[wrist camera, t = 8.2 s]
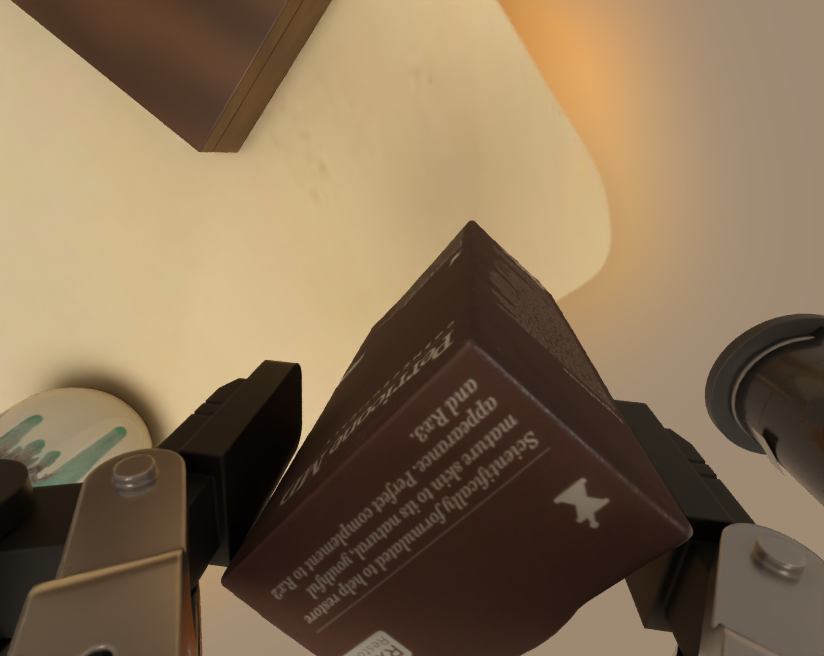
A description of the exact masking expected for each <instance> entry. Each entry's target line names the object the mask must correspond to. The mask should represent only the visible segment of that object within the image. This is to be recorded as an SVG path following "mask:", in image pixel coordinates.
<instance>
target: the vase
mask: <svg viewBox="0 0 824 656" xmlns="http://www.w3.org/2000/svg"><path fill="white" fill-rule="evenodd" d="M147 448H152V442H151V437H150V434H149V432H148V429H147V427H146V425H145V423H144V422H143V420H142V419H141V417H140V416H139V415H138V414H137V413H136V411H135V410H134V409H132V408H131V407H130V406H129V405H128V404H127V403H125V402H124V401H122V400H120V399H119V398H117V397H115V396H113V395H110V394H108V393H105V392H102V391H99V390H94V389H87V388H61V389H54V390H49V391H45V392H42V393H38V394H35V395H32V396H30V397H28V398H27V399H25V400H23V401H21V402H19V403H17V404H15V405H14V406H12V407H10V408H9V409H7V410H6V411H4V412H3V413H1V414H0V459H10V460H15V461H19V462H21V463H23V464H24V465H25V466H26V467H27V470H28V473H29V477H30V481H31V484H32V487H40V486H50V485H61V484H72V483H83V482H84V480H85V478H86V477H87V476H88V474H89V473H90V472H91V471H92V470H93V469H95V468H96V467H97V466H99V465H100V464H102V463H103V462H105V461H107V460H109V459H111V458H113V457H115V456H118V455H120V454H123V453H127V452H130V451H134V450H139V449H147Z"/></svg>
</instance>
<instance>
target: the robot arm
mask: <svg viewBox="0 0 824 656" xmlns="http://www.w3.org/2000/svg"><path fill="white" fill-rule="evenodd" d="M614 401H615V403H616V405H617V406H618V408H619V410H620V411H621V413H622V415H623V417H624V418H625V420H626V422H627V423H628V425H629V426H630V428H631V430H632V431H633V433H634V435H635V437H636V438H637V440H638V441H639V443H640V445H641V446H642V448H643V449H644V450H645V451H646V454H647V456H648V458H649V460H650V461H651V463H652V464H653V466H654V467H655V469H656V471H657V472H658V474H659V475H660V477H661V479H662V480H663V482H664V483H665V485H666V486H667V488H668V490H669V491H670V493H671V494H672V496H673V498H674V499H675V501H676V503H677V504H678V506H679V508H680V510H681V511H682V513H683V514H684V516H685V517H686V519H687V520H688V521H689V523H690V525H691V527H692V530H693V535H692V536H691V537H690V538H689V539H688V540H687V541H686V542H684V543H682V544H681V545H679V546H677V547H675V548H673V549H672V550H670V551H668V552H667V553H665V554H663V555H662V556H660V557H658V558H657V559H655V560H653V561H652V562H650V563H648V564H647V565H645V566H643V567H642V568H640V569H639V570H637V571H635V572H634V573H632V574H631V575H629V576H627V577H626V578H625V580H626V582H627V585H628V587H629V590H630V592H631V595H632V597H633V600H634V602H635V605H636V608H637V611H638V613H639V615H640V618H641V621H642V623H643V626H644V628H647V629H654V630H661V631H668V632H673V635H674V637H675V639H676V641H677V646H676V648H675V651H674V653H673V656H824V561H823V560H822V559H821V558H820V557H819V556H818V555H817V554H815V553H814V552H812V551H811V550H810V549H809V548H807V547H806V546H804V545H803V544H801V543H799V542H798V541H796V540H794V539H792V538H790V537H789V536H787V535H785V534H782V533H780V532H777V531H775V530H772V529H770V528H767V527H763V526H760V525H756V524H755V523H754V521H753V520H752V519H751V518H750V516H749V515H748V514H747V513H746V512H745V510H744V509H743V508H742V507H741V505H740V504H739V503H738V501H736V499H735V498H734V496H733V495H732V494H731V493H730V491H729V490H728V489H727V488H726V486H725V485H724V484H723V483H722V482H721V480H720V479H717V475H716V474H715V473H714V472H713V470H712V469H711V468H710V467H709V465H706V464H705V460H704V459H703V458H702V457H701V455H700V454H699V453H698V452H697V450H696V449H695V448H694V447H693V445H692V444H690V443H689V442H687V441H686V440H685V439H683V438H682V437H681V436H679V435H678V434H676V433H675V432H674V431H672V430H671V429H666V428H664V427H663V426H662V424H661V423H660V422H659V420H658V419H657V418H656V416H655V415H654V414H653V412H652V411H651V410H650V409H649V407H648V406H647V405H646V404H644V403H638V402H629V401H620V400H614ZM729 408H730V412H731V415H732V417H733V419H734V421H735V422H736V424H737V425H738V426H739V427H740V428H741V429H742V430H743V431H744V432H745V433H746V434H747V435H748V436H750V437H751V438H752V439H753V440H754V441H755V442H756V443H757V444H759V445H760V446H761V447H762V448H763V449H764V451H765V452H766V454H767V455H768V458H769V459H770V461H771V463H772V464H773V465H774V466H775V467H776V468H777V469H778V470H779V471H780V472H781V473H782V474H784V473H783V471H782V470H781V468H780V466H779V464H780V465H781V466H782V467H783V468H784V469H786V470H787V471H788V472H789V473H790V474H791V475H792V476H793V477H794V478H795V479H796V480H797V481H798V482H799V483H800V484H801V485H802V486H803V487H804V488H805V489H806V490H807V491H808V492H810V493H811V494H812V495H813V496H814V497H815V498H816V499H817V500H818V501H819V502H820V503H821V504H822V505H823V506H824V326H820V327H818V328H817V329H816V330H815V331H813V332H811V333H810V334H808V335H797V336H792V337H788V338H784V339H781V340H778V341H776V342H774V343H771V344H769V345H768V346H766V347H764V348H762V349H761V350H759V351H758V352H757V353H755V354H754V355H753V356H752V357H750V358H749V359H748V360H747V361H746V362H745V363H744V365H743V366H742V367H741V368H740V370H739V371H738V372H737V374H736V376H735V378H734V380H733V382H732V385H731V388H730V392H729ZM301 430H302V372H301V367H300V365H299V364H298V363H290V362H281V361H272V360H265V361H264V362H262V363H261V365H260V366H259V367H258V368H257V369H256V370H255V371H254V372H253V373H252V374H251V375H250V376H249V377H248V378H247V379H242V378H239V379H236V380H234V381H232V382H230V383H228V384H226V385H224V386H222V387H220V388H218V389H217V390H216V391H215V392H214V393H213V394H212V395H211V396H210V397H209V398H208V399H207V400H206V403H203V404H202V405H201V406H200V407H199V408H198V409H197V410H196V411H195V413H194V414H191V415H190V416H189V417H188V418H187V419H186V420H185V421H184V422H183V423H182V424H181V425H180V426H179V427H178V428H177V429H176V430H175V431H174V432H173V433H172V434H171V435H170V436H169V437H168V438H166V439H165V440H164V441H163V442H162V443H161V444H160V445H159V446H158V447H157V448H147V449H139V450H134V451H130V452H127V453H123V454H120V455H118V456H115V457H113V458H111V459H109V460H107V461H105V462H103V463H102V464H100V465H99V466H97V467H96V468H95V469H93V470H92V471H91V472H90V473H89V474H88V476H87V477H86V478H85V480H84V482H83V483H72V484H61V485H50V486H40V487H32V484H31V481H30V477H29V473H28V470H27V467H26V466H25V465H24V464H23V463H21V462H19V461H15V460H10V459H0V656H202V634H201V607H200V588H199V579H200V578H201V576H202V574H203V573H204V571H205V570H206V568H207V566H208V565H209V564H210V565H217V566H224V567H228V566H229V564H230V562H231V560H232V559H233V557H234V556H235V554H236V553H237V551H238V550H239V548H240V547H241V546H242V544H243V542H244V541H245V539H246V538H247V536H248V534H249V533H250V531H251V529H252V528H253V526H254V524H255V523H256V521H257V520H258V518H259V516H260V515H261V513H262V511H263V510H264V508H265V506H266V504H267V502H268V501H269V499H270V497H271V495H272V493H273V491H274V490H275V488H276V486H277V484H278V483H279V480H280V479H281V477H282V475H283V474H284V472H285V470H286V468H287V466H288V464H289V463H290V461H291V459H292V457H293V455H294V454H295V452H296V450H297V447H298V444H299V441H300V436H301ZM778 463H779V464H778Z"/></svg>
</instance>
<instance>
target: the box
mask: <svg viewBox="0 0 824 656" xmlns="http://www.w3.org/2000/svg"><path fill="white" fill-rule="evenodd" d="M692 535H693V530H692V527H691V525H690V523H689V521H688V520H687V519H686V517H685V516H684V514H683V513H682V511H681V510H680V508H679V506H678V504H677V503H676V501H675V499H674V498H673V496H672V494H671V493H670V491H669V490H668V488H667V486H666V485H665V483H664V482H663V480H662V479H661V477H660V475H659V474H658V472H657V471H656V469H655V467H654V466H653V464H652V463H651V461H650V460H649V458H648V456H647V454H646V451H645V450H644V449H643V448H642V446H641V445H640V443H639V441H638V440H637V438H636V437H635V435H634V433H633V431H632V430H631V428H630V426H629V425H628V423H627V422H626V420H625V418H624V417H623V415H622V413H621V411H620V410H619V408H618V406H617V405H616V403H615V401H614V399H613V398H612V397H611V395H610V393H609V391H608V389H607V387H606V386H605V384H604V383H603V381H602V379H601V378H600V376H599V374H598V372H597V370H596V369H595V367H594V366H593V364H592V363H591V361H590V359H589V357H588V356H587V354H586V352H585V350H584V349H583V347H582V346H581V344H580V342H579V340H578V339H577V337H576V335H575V334H574V332H573V330H572V329H571V327H570V325H569V324H568V322H567V320H566V319H565V318H564V316H563V313H562V312H561V310H560V309H559V307H558V306H557V304H556V303H555V300H554V299H553V297H552V295H551V294H550V293H549V292H548V291H547V290H546V289H545V288H544V287H543V286H542V285H541V283H540V282H539V281H538V280H537V279H536V278H534V277H533V276H532V275H531V274H530V273H529V272H528V271H527V270H526V269H525V268H523V267H522V266H521V265H520V264H519V262H518V261H517V260H515V259H514V258H513V257H512V256H510V255H509V254H508V253H507V252H506V251H505V250H504V249H503V248H502V247H501V246H500V245H499V244H498V243H497V242H496V241H494V240H493V239H492V238H491V237H490V236H489V235H488V234H487V233H486V232H485V231H484V230H483V229H482V228H481V227H480V226H479V225H478V224H477V223H476V222H475V221H473V220H472V221H469V222H468V223H467V224H466V225H465V227H464V228H463V229H462V230H461V231H460V232H459V233H458V235H457V236H456V237H455V238H454V239H453V240H452V241H451V242H450V244H449V245H448V246H447V247H446V248H445V250H444V251H443V252H442V253H441V254H440V255H439V256H438V258H437V259H436V260H435V261H434V262H433V263H432V264H431V265H430V266H429V268H428V269H427V270H426V271H425V272H424V273H423V274H422V275H421V277H420V278H419V279H418V280H417V281H416V282H415V283H414V285H413V286H412V287H411V288H410V289H409V290H408V291H407V292H406V294H405V295H404V296H403V297H402V298H401V299H400V300H399V301H398V302H397V303H396V304H395V305H394V306H393V307H392V308H391V309H390V310H389V311H388V312H387V313H386V314H385V316H384V317H383V318H381V319H380V321H379V322H377V323H376V324H375V325H374V326H373V328H372V329H371V331H370V333H369V334H368V336H367V337H366V339H365V341H364V342H363V344H362V345H361V347H360V349H359V351H358V352H357V354H356V356H355V357H354V359H353V361H352V363H351V365H350V366H349V368H348V369H347V371H346V372H345V374H344V376H343V378H342V380H341V382H340V383H339V385H338V387H337V388H336V389H335V391H334V393H333V395H332V397H331V399H330V400H329V402H328V403H327V405H326V407H325V409H324V411H323V412H322V414H321V416H320V417H319V419H318V420H317V422H316V424H315V425H314V427H313V429H312V430H311V432H310V433H309V435H308V436H307V438H306V440H305V441H304V443H303V445H302V446H301V448H300V449H299V451H298V452H297V454H296V456H295V458H294V460H293V461H292V463H291V465H290V467H289V468H288V470H287V472H286V473H285V475H284V477H283V478H282V480H281V482H280V483H279V485H278V487H277V489H276V490H275V492H274V493H273V495H272V497H271V498H270V500H269V501H268V503H267V505H266V506H265V508H264V510H263V511H262V513H261V515H260V516H259V518H258V520H257V521H256V523H255V524H254V526H253V528H252V529H251V531H250V533H249V534H248V536H247V538H246V539H245V541H244V542H243V544H242V546H241V547H240V548H239V550H238V551H237V553H236V554H235V556H234V557H233V559H232V560H231V562H230V564H229V566H228V567H227V569H226V571H225V572H224V574H223V576H222V579H221V583H222V585H223V586H224V587H225V588H227V589H228V590H230V591H231V592H232V593H234V595H235V596H237V597H238V598H239V599H241V600H242V601H244V602H245V603H246V604H248V605H249V606H250V607H251V608H253V609H254V610H256V611H257V612H258V613H259V614H260V615H261V616H262V617H263V618H265V619H266V620H268V621H269V622H270V623H272V624H273V625H274V626H276V627H277V628H279V629H280V630H281V631H283V632H284V633H285V634H287V635H288V636H290V637H291V638H293V639H294V640H295V641H297V642H298V643H299V644H300V645H302V646H303V647H305V648H306V649H308V650H309V651H311V652H312V653H313V654H315V655H316V656H520V655H522V654H524V653H526V652H528V651H530V650H532V649H534V648H536V647H538V646H539V645H540V644H542V643H544V642H545V641H546V640H548V639H549V638H550V637H551V636H553V635H554V634H556V633H557V632H558V630H560V629H561V628H562V627H563V626H564V625H565V624H566V623H567V622H568V621H569V620H570V619H571V618H572V616H573V615H574V614H575V612H576V611H577V610H578V609H579V608H580V607H581V606H583V605H584V604H585V603H586V602H588V601H589V600H591V599H593V598H594V597H596V596H597V595H599V594H601V593H602V592H604V591H605V590H607V589H608V588H610V587H611V586H613V585H615V584H616V583H618V582H619V581H621V580H623V579H624V578H626V577H627V576H629V575H631V574H632V573H634V572H635V571H637V570H639V569H640V568H642V567H643V566H645V565H647V564H648V563H650V562H652V561H653V560H655V559H657V558H658V557H660V556H662V555H663V554H665V553H667V552H668V551H670V550H672V549H673V548H675V547H677V546H679V545H681V544H682V543H684V542H686V541H687V540H688V539H689V538H690V537H691V536H692Z"/></svg>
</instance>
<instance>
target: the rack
mask: <svg viewBox="0 0 824 656" xmlns="http://www.w3.org/2000/svg"><path fill="white" fill-rule="evenodd" d="M11 1H13V2H14V3H15V4H16V5H18V6H19V7H20V8H21V9H22V10H24V11H25V12H26V13H27V14H29V15H30V16H31V17H32V18H34V19H35V20H36V21H37V22H39V23H40V24H41V25H42V26H44V27H45V28H46V29H47V30H49V31H50V32H51V33H52V34H53V35H55V36H56V37H57V38H58V39H60V40H61V41H62V42H63V43H65V44H66V45H67V46H68V47H70V48H71V49H72V50H73V51H75V52H76V53H77V54H78V55H80V56H81V57H82V58H83V59H84V60H86V61H87V62H88V63H89V64H91V65H92V66H93V67H94V68H96V69H97V70H98V71H99V72H101V73H102V74H103V75H104V76H106V77H107V78H108V79H109V80H110V81H112V82H113V83H114V84H115V85H117V86H118V87H119V88H120V89H122V90H123V91H124V92H125V93H127V94H128V95H129V96H130V97H132V98H133V99H134V100H135V101H137V102H138V103H139V104H140V105H141V106H143V107H144V108H145V109H146V110H148V111H149V112H150V113H151V114H153V115H154V116H155V117H156V118H158V119H159V120H160V121H161V122H163V123H164V124H165V125H166V126H167V127H169V128H170V129H171V130H172V131H174V132H175V133H176V134H177V135H179V136H180V137H181V138H182V139H184V140H185V141H186V142H187V143H189V144H190V145H191V146H192V147H194V148H195V149H196V150H197V151H198V152H236V153H237V152H238V150H239V149H240V147H241V145H242V144H243V142H244V141H245V139H246V137H247V136H248V134H249V133H250V131H251V129H252V128H253V126H254V124H255V123H256V121H257V120H258V118H259V116H260V115H261V113H262V111H263V110H264V108H265V107H266V105H267V103H268V102H269V100H270V99H271V97H272V95H273V94H274V92H275V90H276V89H277V87H278V86H279V84H280V82H281V81H282V79H283V78H284V76H285V74H286V73H287V71H288V69H289V68H290V66H291V65H292V63H293V61H294V60H295V58H296V56H297V55H298V53H299V52H300V50H301V48H302V47H303V45H304V44H305V42H306V40H307V39H308V37H309V35H310V34H311V32H312V31H313V29H314V27H315V26H316V24H317V23H318V21H319V19H320V18H321V16H322V14H323V13H324V11H325V10H326V8H327V6H328V5H329V3H330V1H331V0H11Z"/></svg>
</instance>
